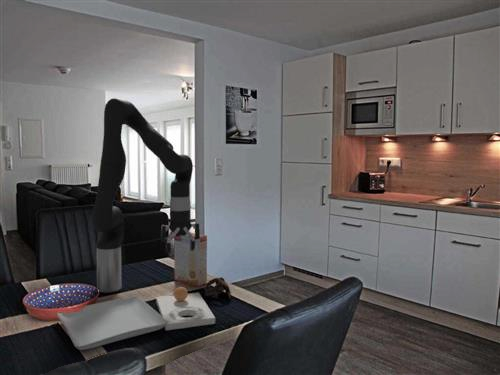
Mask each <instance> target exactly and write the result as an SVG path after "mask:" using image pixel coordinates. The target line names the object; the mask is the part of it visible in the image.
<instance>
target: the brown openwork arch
mask: <svg viewBox="0 0 500 375" xmlns="http://www.w3.org/2000/svg"><path fill="white" fill-rule="evenodd" d="M225 280H226V279H225V278H223V277H222V276H221V277H214V278H212V279H211V280H209V281H208V282H207V283H206V284H205V286H204V287H203V289H204V296H206V297H208V296H209V297H210V296H212V295H215V296H218V294H217V292H218V291H219V292H224V291H225V295H227V296H228V299H231V298H232V293H231V290H230V286H229V285H228V283H227V282H226V281H225ZM214 283H215V285H214V286H212V287H211V288H209V287H210V286H211V285H213V284H214Z"/></svg>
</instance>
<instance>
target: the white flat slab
mask: <svg viewBox="0 0 500 375" xmlns="http://www.w3.org/2000/svg"><path fill="white" fill-rule="evenodd" d="M155 302H156V303H155V304H156V305H157V306H156V307H157V309H158V311H159V312H158V313H159V314H160V315H161V316H162V317H163V318H164V319H165V320H167V321H168V323H167V324H166V325H165V326H164V327H163V328H164V330H165V331H171V330H178V329H188V328H193V327H200V326H208V325H214V324H216V317H215V315H214V314H213V312H212V311H211V309H210V308H209V306H208V304H207V303H206V301H205V300H204V299H203V297H202V295H201V294H200V292H192V293H191V292H190V293H188V296H187V298H186V299H185V300H183V301H178V300H176V299H175V297H174V294H173V295H165V296H156V298H155ZM184 316H185V317H184ZM186 316H188V317H186ZM189 316H190V317H189Z"/></svg>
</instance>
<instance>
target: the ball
mask: <svg viewBox="0 0 500 375" xmlns="http://www.w3.org/2000/svg"><path fill="white" fill-rule="evenodd" d="M188 294H189V293H188V289H186V287H183V286H178V287H177V288H175V289H174V292H173V295H174V297H175V299H176V300H178V301H183V300H185V299H186V298H187V296H188Z"/></svg>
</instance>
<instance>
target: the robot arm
mask: <svg viewBox="0 0 500 375" xmlns="http://www.w3.org/2000/svg"><path fill="white" fill-rule="evenodd" d="M103 112H104V113H103V140H102V150H101V151H102V152H101V157H100V165H99V166H100V167H99V175H98V176H99V177H98V184H97V190H96V191H97V192H96V197H95V202H94V206H93V210H92V214H91V223H92V226H93V228H94V230H96V231H97V232H101V234H100V236H99V238H98V239H97V241H96V245H95V246H96V290H97V289H98V290H99V292H98V293H115V292H118V291H119V290H121V289H122V283H123V282H122V240H123V238H124V214H123V212H122V210H121V209H120V208H119V207H117V206H114V200H115V198H116V194H117V192H118V190H119V188H120V186H121V185H122V183H123V180H124V178H125V174H126V166H127V165H126V164H127V156H126V152H125V148H124V145H123V142H122V141H123V140H122V130H123V125H126V126H127V127H129V128H131V129H132V130H133V131H134V132H136V133H137V135H138V136H139V137H140V139H141V141H142V143H143V144H144V145H145V147H146V148H148V150H149V151H151V153H152V154H154V155H155V156H156V158H158V159H159V160H160V163H162V165H163V166H164V168H165V169H166V170H167V171H168V172H170V173H172V174H174V180H172V181H171V183H170V192H169V193H170V198H169V199H170V200H169V224H168V225H167V224H166V225H164V224H161V226H160V227H161V228H160V241H161V242H162V243H165V251H166V252H167V253H168V254H171V252H172V250H171V248H172V246H171V245H172V244H171V243H172V240H173V239H175V236H181V235H182V236H185V235H186V234H187V235H188V236H189V238H190V239H191V240H190V250H191V251H193V249H195V240H197V239H199V238H200V234H201V233H200V224H199V223H198V222H194V223H191V220H192V219H191V209H192V208H191V207H192V206H191V197H190V196H191V194H190V193H191V192H190V191H191V190H190V189H191V188H190V187H191V186H190V184H191V180H192V175H193V169H194V166H193V160H192V159H191V157H190V156H189V155H187V154H178V153H177V152H176V151H175V150H174V145H173V144H172V143H171V142H170V141H169V140H167V138H165V137H164V136H163V135H162V134H161V133H159V132H158V131H157V130H156V128H154V127H153V125H151V123H150V122H149V121H148V120H147V119H146V118H145V117H144V116H143V115H142V113H141V112H140V111H139V109H138V108H137V107H136V106H135V105H134V104H133V103H132V102H131V101H129V100H127V99H126V100H125V99H121V98H115V97H114V98H110V99H109V100H108V101H107V102H106V104H105V105H104V110H103ZM191 229H193V230H194V233H195V236H192V234H191V233H192V232H191V231H190V230H191ZM168 230H170V233H169V234H168V235H167V236H166V232H168Z"/></svg>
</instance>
